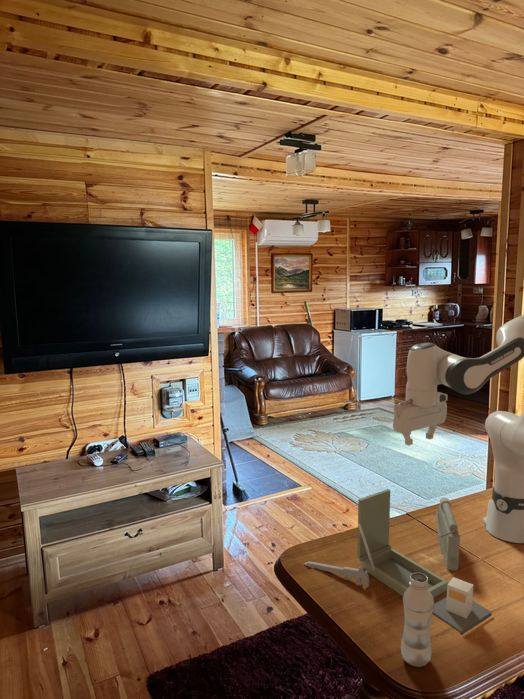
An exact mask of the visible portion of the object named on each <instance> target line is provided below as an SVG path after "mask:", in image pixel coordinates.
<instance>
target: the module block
mask: <svg viewBox="0 0 524 699" xmlns="http://www.w3.org/2000/svg"><path fill="white" fill-rule="evenodd" d="M473 593H474V584H473V583H471V582H467V581H465V580H462V579H460V578H457V577H454V576H452V578H451V579H450V580H449V581H448V585H447V591H446V597H447V603H446V610H447V611H450V612H452V613H454V614H457V615H459V616H461V617H464V618H466V619H467V617H468V616H469V614H470V612H471V611H472V601H473V600H474V599H473V598H474V595H473Z"/></svg>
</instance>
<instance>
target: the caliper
mask: <svg viewBox="0 0 524 699" xmlns="http://www.w3.org/2000/svg"><path fill="white" fill-rule="evenodd" d="M303 566H306V567H307V566H308V568H310V567H311V568H310V569H317V570H320V571H324V572H330V573H335V574H339V575H344V578H347V579H348V578H349V579H355V580H356V582H357V584H358V586H360V587H361V586H363V583H364V588H365V589H368V588H369V587H370V577H369V573H368V572H367V571H365V567H363V568H362V565H360V566H358V568H354V567H350V566H349V567H348V566H344V567H342V566H341V567H340V566H337V565H330V564H325V563H320V562H315V561H307V562H304V563H303Z"/></svg>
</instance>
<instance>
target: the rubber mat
mask: <svg viewBox="0 0 524 699" xmlns="http://www.w3.org/2000/svg"><path fill="white" fill-rule="evenodd" d="M446 603H447V596H446V597H444V598H442V599H440V600H438V601H437V602H434V607H433V611H432V615H434V616H436V617H437V618H438V619H440V620H442V621H443V622H444V623H446V624H447V625H449V626H451V627H452V628H453V629H455V630H456V631H458V632H459V633H460V636H463V635H464V634H465V633H468V632H469V631H470V630H472V629H473V628H475V627H476V626H478V625H479V624H481V623H482V622H484V621H486V620H487V619H489V618H490V617H491V616H492V615H493V614H492V611H490V609H487V608H485V606H482V605H480V604H479V603H478V602H476V601H474V600H472V611H471V612H470V614H469V616H468V617H467V619H466V618H464V617H461V616H459V615H457V614H454V613H452V612H450V611H447V610H446Z"/></svg>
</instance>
